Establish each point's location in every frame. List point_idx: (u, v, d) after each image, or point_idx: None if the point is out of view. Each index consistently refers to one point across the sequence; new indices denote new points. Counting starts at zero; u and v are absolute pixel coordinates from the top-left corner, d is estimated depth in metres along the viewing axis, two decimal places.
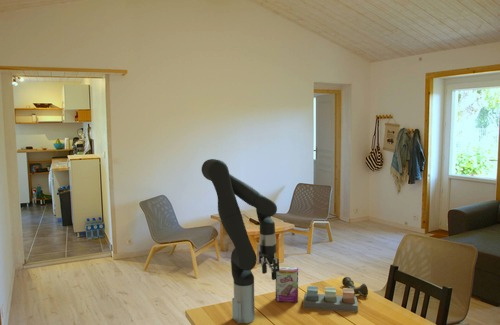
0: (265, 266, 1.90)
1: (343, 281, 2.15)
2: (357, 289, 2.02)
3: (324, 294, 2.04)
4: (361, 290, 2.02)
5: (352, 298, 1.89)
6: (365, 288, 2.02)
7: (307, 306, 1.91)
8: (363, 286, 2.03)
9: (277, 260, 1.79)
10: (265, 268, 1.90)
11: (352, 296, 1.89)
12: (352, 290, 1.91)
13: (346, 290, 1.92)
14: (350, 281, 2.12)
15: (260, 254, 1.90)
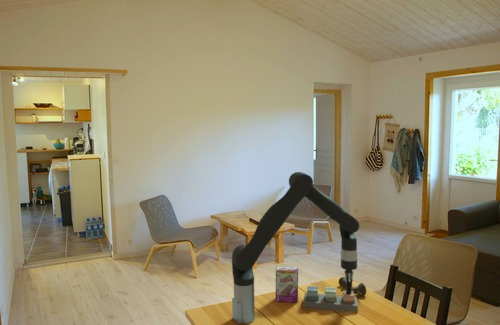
0: None
1: (339, 281, 2.15)
2: (356, 289, 2.03)
3: (324, 294, 2.04)
4: (360, 290, 2.03)
5: (352, 301, 1.89)
6: (363, 287, 2.03)
7: (307, 306, 1.91)
8: (361, 285, 2.04)
9: None
10: None
11: (352, 299, 1.89)
12: (352, 293, 1.91)
13: None
14: None
15: (351, 279, 1.86)
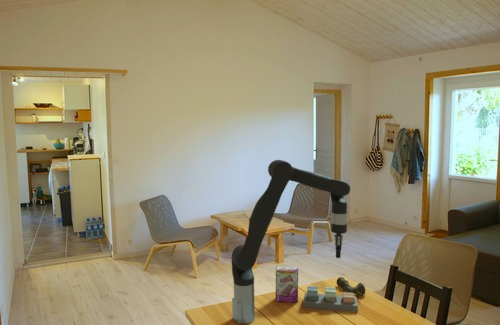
0: None
1: (337, 281, 2.15)
2: (355, 289, 2.03)
3: (324, 294, 2.04)
4: (359, 289, 2.03)
5: (352, 302, 1.89)
6: (363, 287, 2.03)
7: (307, 306, 1.91)
8: (360, 285, 2.04)
9: None
10: None
11: (352, 300, 1.89)
12: (352, 294, 1.91)
13: (346, 294, 1.92)
14: (345, 281, 2.12)
15: (340, 243, 1.87)
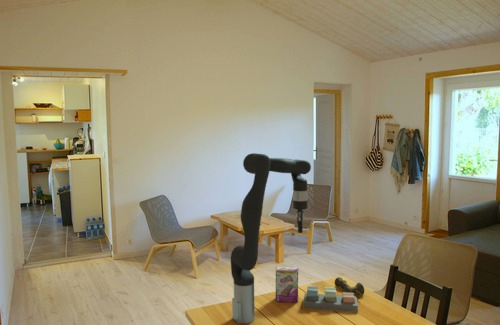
0: None
1: (336, 282, 2.14)
2: (354, 289, 2.03)
3: (324, 294, 2.04)
4: (358, 289, 2.03)
5: (352, 302, 1.89)
6: (362, 287, 2.03)
7: (307, 306, 1.91)
8: (359, 285, 2.04)
9: None
10: None
11: (352, 300, 1.89)
12: (352, 294, 1.91)
13: (346, 294, 1.92)
14: (343, 281, 2.12)
15: (301, 218, 1.99)
